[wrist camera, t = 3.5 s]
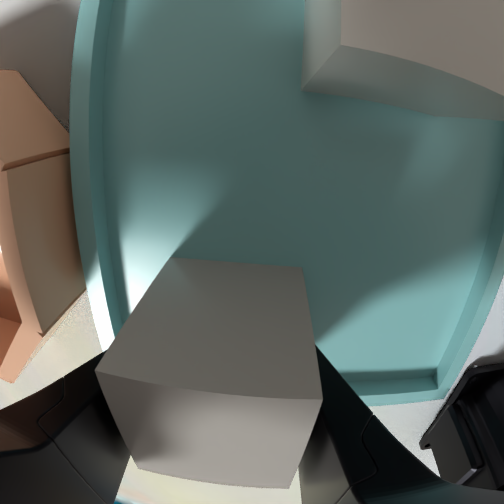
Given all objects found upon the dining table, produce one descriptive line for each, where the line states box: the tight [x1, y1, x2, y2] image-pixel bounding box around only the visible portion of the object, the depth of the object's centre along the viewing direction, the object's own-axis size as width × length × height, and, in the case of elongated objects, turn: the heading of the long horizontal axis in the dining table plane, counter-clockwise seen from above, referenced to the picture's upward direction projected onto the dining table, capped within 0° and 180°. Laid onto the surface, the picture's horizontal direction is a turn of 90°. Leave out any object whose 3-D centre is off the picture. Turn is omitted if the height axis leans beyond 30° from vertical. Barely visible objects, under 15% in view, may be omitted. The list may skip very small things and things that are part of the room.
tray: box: [69, 0, 504, 406], centre depth 8 cm, size 14×16×1 cm
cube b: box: [95, 257, 323, 489], centre depth 8 cm, size 4×4×5 cm
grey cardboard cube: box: [301, 0, 504, 121], centre depth 4 cm, size 4×4×5 cm
